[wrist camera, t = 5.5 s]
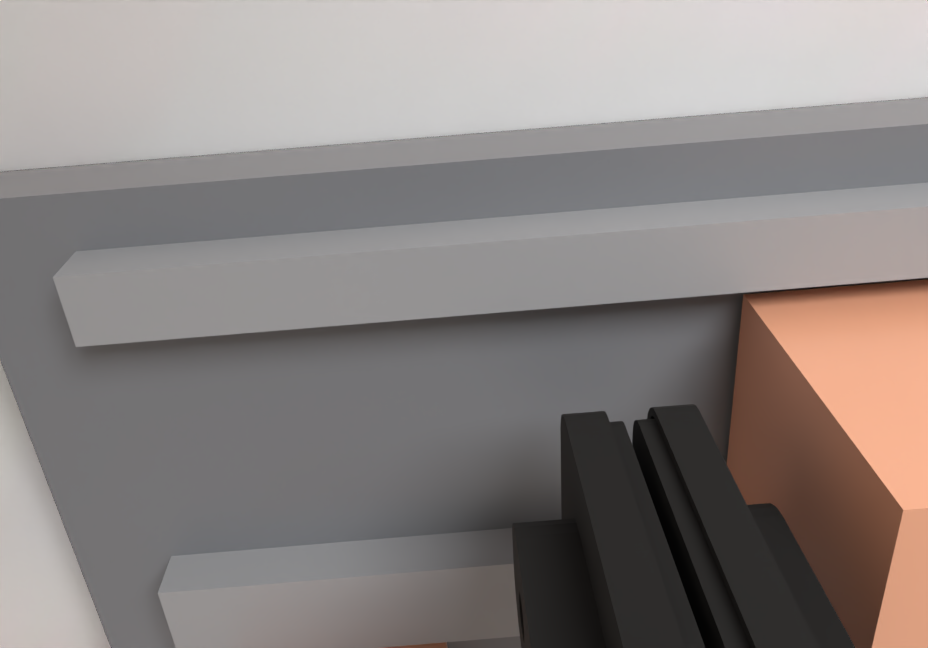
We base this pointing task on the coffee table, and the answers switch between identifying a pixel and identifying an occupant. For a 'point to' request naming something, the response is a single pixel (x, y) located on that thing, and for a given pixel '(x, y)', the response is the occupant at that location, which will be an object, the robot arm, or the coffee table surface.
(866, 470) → the tab
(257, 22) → the coffee table surface
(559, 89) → the coffee table surface
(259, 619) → the switch bank
